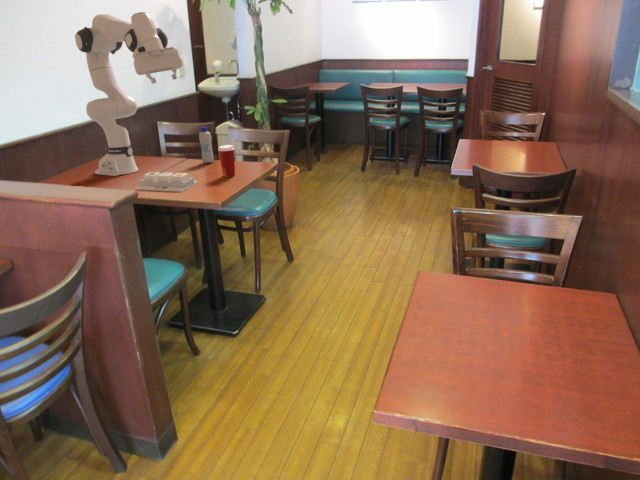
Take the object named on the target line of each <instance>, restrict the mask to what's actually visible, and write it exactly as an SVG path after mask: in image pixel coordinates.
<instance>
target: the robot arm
mask: <svg viewBox="0 0 640 480" xmlns="http://www.w3.org/2000/svg"><path fill="white" fill-rule="evenodd" d="M130 20H131V22H128V21H126V20H123V19H122V18H121V19H120V18H118V17H115V16H113V15H110V14H105V13H104V14H103V13H99V14H97V15H95V16H94V17H93V18H92V20H91V21H92V22H91V27H88V26H85V27H84V28H82V29H79V30H78V31H77V32H76V34H75V35H74V39H75V44H76V47H77V48H78V49H79V51H80V52H81V53H85V56H86V58H85V59H86V63H87V64H86V65H87V69H88V71H89V75H90V79H91V82H92V85H93V86H94V88H95V89H96V90H98V91H100V92H102V93H104V94H106V96H107V97H103V98H97V99H93V100H91V101H89V102H87V103H86V107H85V109H86V114H87V116H88V117H89V118H90V119H91V120H92V121H93V122H96V123H97V124H98V125H99V127H101V128H102V130H103V132H104V134H105V138H106V141H107V147H105V148H104V151H106V154H105V155H104V156H102V158H101V159H100V160H99V161H98V169H96V170H95V171H94V174H95V175H103V176H112V177H116V176H120V175H127V174H132V173H133V174H134V173H135V172H138V170H139V168H138V166H137V164H136V161H135V158H134V155H133V153H134V152H133V147H132V144H131V139H130V136H129V130H127V128H126V127H124V126H122V125H119V124H118V123H117V122H116V120H118V119H125V118H128V117H131V116H134V115H135V114H136V113H137V110H138V105H137V102H136V100H135V98H133V97H132V96H130V95H129V94H127V93H126V92H125V91H124V90H122V88H121V87H120V86H119V84H118V82H117V79H116V77H115V74H114V70H113V67H112V64H111V61H110V58H109V56H110V53H111V54H112V55H115V54H116V52H118V51H120V50H121V48H122V47H123V43H125V45H126V48H128V50H129V51H130V52H132V58H133V67H134V70H135V73H136V75H138V76H143V75H146V78H148V79H149V80H150V82H151V84H156V83H157V80H156V77H153V76H152V75H151V74H156V73H160V72H162V73H163V72H167V71H172V73H173V74H172V75H171V77H172V80H177V78H178V76H177V70H178V69H181V68H182V66H183V61H182V60H183V59H181V56H180V55H179V54H180V53H179V51H178V49H177V48H175V47H173V46H170V47H167V46H168V44H169V42H168V41H169V38H168V37H167V34H166V32H165V31H163V29H161V28H159V27H157V26H156V24H155V22H154V20H153V18H152V16H151V15H150V14H149V13H148V12H143V11H141V12H136V13H133V14H132V15H131V17H130Z"/></svg>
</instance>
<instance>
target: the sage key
mask: <svg viewBox="0 0 640 480" xmlns="http://www.w3.org/2000/svg"><path fill="white" fill-rule="evenodd" d="M173 175H175V173H174V172H162V173H161V174H160V175H158V180H159V181H166V182H169V181H171V180H172V176H173Z"/></svg>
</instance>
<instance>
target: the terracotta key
mask: <svg viewBox="0 0 640 480" xmlns="http://www.w3.org/2000/svg"><path fill="white" fill-rule="evenodd" d="M189 178H190V177H189V173H185V172H184V173H181V172H176V173H174V175H173V176H172V181H173V182H185V181H187V180H189Z"/></svg>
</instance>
